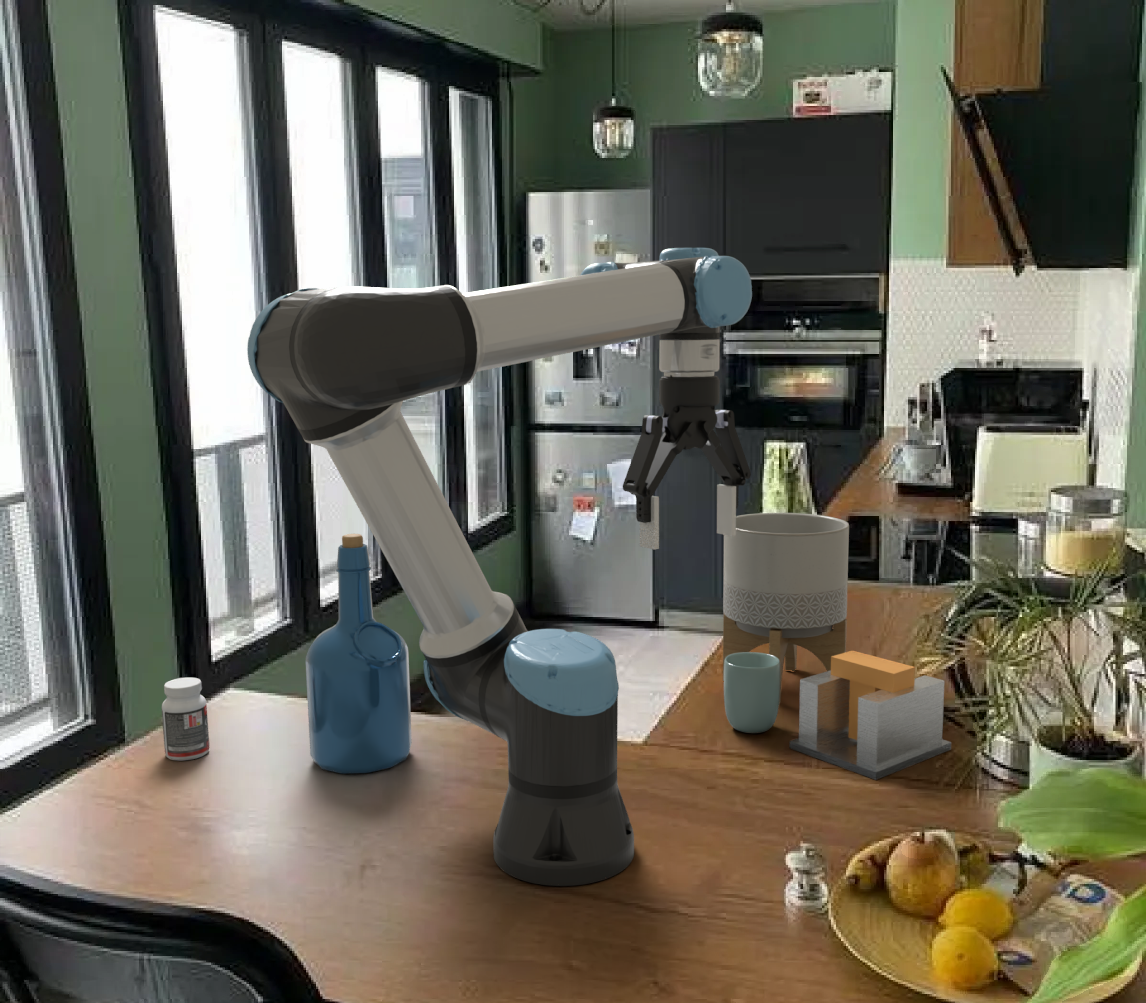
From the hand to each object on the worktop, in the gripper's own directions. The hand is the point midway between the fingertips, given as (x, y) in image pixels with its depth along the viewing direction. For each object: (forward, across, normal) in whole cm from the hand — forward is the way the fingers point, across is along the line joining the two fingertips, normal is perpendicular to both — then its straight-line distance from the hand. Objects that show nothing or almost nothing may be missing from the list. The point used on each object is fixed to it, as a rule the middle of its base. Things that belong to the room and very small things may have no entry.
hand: (688, 541), depth 145 cm
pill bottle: (+29, -51, +43) cm, 73 cm away
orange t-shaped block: (+27, +20, -14) cm, 37 cm away
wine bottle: (+29, -34, +27) cm, 52 cm away
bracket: (+29, +20, -14) cm, 38 cm away
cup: (+29, +14, +1) cm, 32 cm away
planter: (+29, +32, +11) cm, 44 cm away
